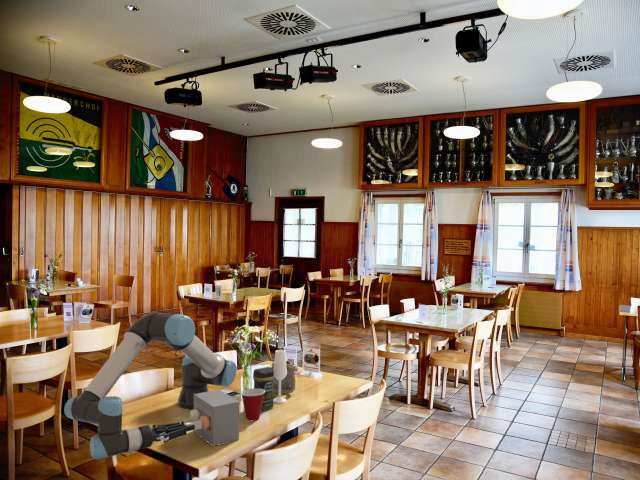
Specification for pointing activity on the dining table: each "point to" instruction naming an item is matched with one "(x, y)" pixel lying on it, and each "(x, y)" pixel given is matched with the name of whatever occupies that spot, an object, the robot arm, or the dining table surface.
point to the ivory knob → (195, 415)
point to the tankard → (286, 379)
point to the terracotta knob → (205, 422)
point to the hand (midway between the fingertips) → (201, 424)
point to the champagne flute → (280, 372)
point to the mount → (218, 416)
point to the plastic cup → (252, 403)
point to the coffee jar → (265, 385)
